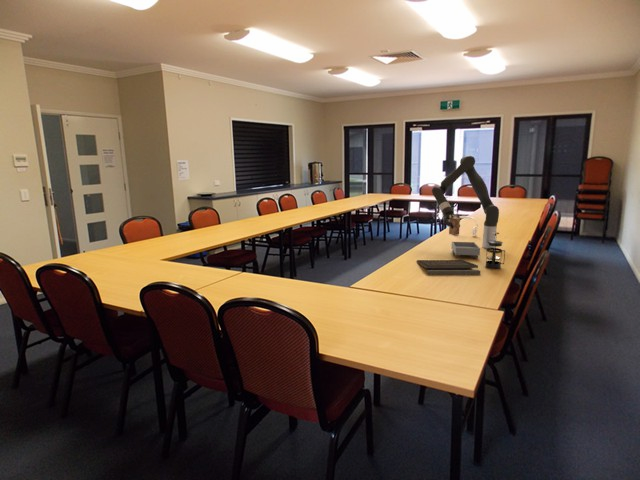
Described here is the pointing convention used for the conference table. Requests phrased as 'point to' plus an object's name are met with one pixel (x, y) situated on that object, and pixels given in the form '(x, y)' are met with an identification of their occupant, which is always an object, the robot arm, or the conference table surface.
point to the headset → (473, 227)
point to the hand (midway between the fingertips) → (456, 227)
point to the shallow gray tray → (465, 249)
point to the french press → (494, 254)
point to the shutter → (449, 265)
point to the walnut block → (456, 225)
